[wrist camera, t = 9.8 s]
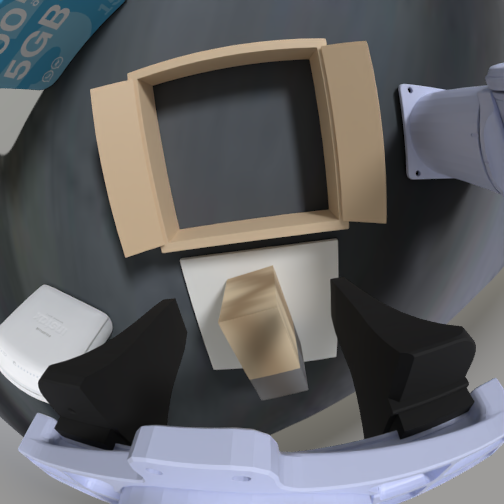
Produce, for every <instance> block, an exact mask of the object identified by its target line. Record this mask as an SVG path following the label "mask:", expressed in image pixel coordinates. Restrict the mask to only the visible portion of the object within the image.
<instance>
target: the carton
mask: <svg viewBox="0 0 504 504" xmlns="http://www.w3.org/2000/svg"><path fill="white" fill-rule="evenodd" d="M301 59H309V60H310V66H311V71H312V76H313V82H314V88H315V94H316V100H317V106H318V113H319V120H320V127H321V134H322V142H323V151H324V160H325V169H326V180H327V191H328V204H329V209H327V210H319V211H310V212H302V213H293V214H285V215H277V216H270V217H262V218H255V219H247V220H240V221H233V222H226V223H219V224H213V225H206V226H199V227H193V228H187V229H180V230H179V225H178V221H177V217H176V212H175V208H174V203H173V199H172V194H171V189H170V185H169V180H168V175H167V170H166V164H165V159H164V154H163V148H162V143H161V137H160V131H159V125H158V119H157V113H156V106H155V99H154V92H153V86H154V85H157V84H160V83H164V82H167V81H171V80H174V79H178V78H182V77H186V76H190V75H194V74H199V73H203V72H208V71H213V70H218V69H223V68H229V67H235V66H241V65H248V64H256V63H264V62H274V61H285V60H301ZM127 75H128V80H127V81H123V82H118V83H114V84H110V85H106V86H102V87H98V88H94V89H90V91H91V101H92V110H93V117H94V125H95V131H96V138H97V144H98V150H99V155H100V160H101V165H102V170H103V175H104V180H105V184H106V189H107V193H108V197H109V201H110V205H111V209H112V213H113V217H114V220H115V224H116V228H117V231H118V235H119V238H120V241H121V245H122V248H123V251H124V254H125V258H126V257H129V256H132V255H135V254H138V253H141V252H144V251H147V250H150V249H153V248H156V247H159V246H160V247H161V250H162V253H167V252H174V251H181V250H189V249H196V248H203V247H210V246H218V245H225V244H233V243H240V242H248V241H255V240H263V239H271V238H278V237H286V236H294V235H302V234H310V233H318V232H326V231H334V230H342V229H349V221H353V222H369V223H385V224H386V222H387V193H386V169H385V154H384V142H383V132H382V123H381V115H380V107H379V101H378V94H377V88H376V82H375V77H374V72H373V67H372V62H371V57H370V53H369V48H368V44H367V42H366V41H358V42H348V43H340V44H332V45H327V43H326V39H288V40H274V41H264V42H255V43H247V44H240V45H234V46H228V47H222V48H217V49H212V50H207V51H202V52H198V53H193V54H189V55H185V56H181V57H178V58H174V59H170V60H167V61H164V62H160V63H157V64H154V65H151V66H148V67H145V68H142V69H139V70H136V71H133V72H131V73H128V74H127Z"/></svg>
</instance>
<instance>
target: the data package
mask: <svg viewBox="0 0 504 504" xmlns="http://www.w3.org/2000/svg"><path fill="white" fill-rule="evenodd" d="M124 1H125V0H0V88H12V89H31V90H43V89H46V88H48V87H50V86H51V85H52V84H53V83H55V82H56V80H57V79H58V78H59V77H60V75H61V74H62V72H63V71H64V70H65V68H66V67H67V65H68V64H69V63H70V61H71V60H72V59H73V58H74V56H75V55H76V54H77V52H78V51H79V50H80V49H81V48H82V46H83V45H84V44H85V43H86V42H87V40H88V39H89V38H90V37H91V36H92V35H93V33H94V32H95V31H96V30H97V29H98V28H99V27H100V26H101V25H102V24H103V23H104V22H105V20H106V19H107V18H108V17H109V16H110V15H111V14H112V13H113V12H114V11H115V10H116V9H117V8H119V7H120V6H121V5H122V4H123V3H124Z"/></svg>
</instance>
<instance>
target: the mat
mask: <svg viewBox="0 0 504 504" xmlns="http://www.w3.org/2000/svg"><path fill="white" fill-rule="evenodd" d="M180 263H181V267H182V271H183V274H184V278H185V281H186V285H187V288H188V292H189V295H190V298H191V302H192V305H193V308H194V312H195V315H196V318H197V321H198V325H199V328H200V331H201V334H202V337H203V340H204V343H205V346H206V349H207V352H208V355H209V358H210V361H211V363H212V366H213V369H214V370H221V369H238V368H243V367H242V366H241V364H240V362H239V360H238V359H237V357H236V355H235V353H234V351H233V350H232V348H231V346H230V344H229V342H228V341H227V339H226V337H225V335H224V333H223V331H222V330H221V328H220V326H219V324H218V321H219V316H220V311H221V306H222V301H223V297H224V292H225V287H226V282H227V279H230V278H233V277H237V276H240V275H243V274H246V273H250V272H253V271H256V270H259V269H262V268H266V267H269V266H272V265H273V267H274V270H275V272H276V275H277V278H278V281H279V284H280V286H281V289H282V292H283V295H284V297H285V300H286V303H287V306H288V309H289V312H290V314H291V317H292V320H293V323H294V326H295V328H296V331H297V334H298V337H299V340H300V343H301V348H302V354H303V359H304V362H306V361H313V360H319V359H325V358H331V357H336V353H337V336H336V333H335V330H334V326H333V322H332V318H331V290H330V279H333V278H338V240H337V238H335V239H327V240H319V241H311V242H303V243H296V244H288V245H280V246H272V247H264V248H257V249H249V250H241V251H234V252H226V253H218V254H210V255H203V256H195V257H188V258H181V259H180Z"/></svg>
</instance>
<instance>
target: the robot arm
mask: <svg viewBox="0 0 504 504" xmlns="http://www.w3.org/2000/svg"><path fill="white" fill-rule="evenodd" d="M485 81H486V83H487V85H486V86H475V87H466V88H458V89H451V90H443V89H437V88H431V87H425V86H417V85H409V84H401V85H399V87H398V91H399V98H400V105H401V112H402V120H403V129H404V140H405V153H406V173H407V176H408V178H410V179H443V178H456V179H459V180H462V181H465V182H468V183H471V184H474V185H477V186H479V187H482V188H485V189H488V190H490V191H493V192H496V193H498V194H501V195H503V197H504V62H503V63H500V64H496V65H494V66H491V67H490V68H489V71H488V75H487V76H486V77H485ZM408 88H409V89H410V91H411V92H410V93H409V92H408ZM416 171H418V175H417V176H416ZM330 290H331V318H332V322H333V326H334V330H335V333H336V336H337V338H338V341H339V343H340V346H341V348H342V351H343V353H344V356H345V359H346V361H347V364H348V366H349V369H350V372H351V375H352V378H353V382H354V386H355V391H356V395H357V399H358V404H359V409H360V415H361V420H362V426H363V432H364V439H363V440H359V441H355V442H351V443H346V444H341V445H336V446H330V447H325V448H319V449H312V450H305V451H297V452H280V451H279V448H278V444H277V442H276V441H275V440H274V439H273V438H272V437H271V436H270V435H269V434H267V433H264V432H261V431H257V430H255V429H247V428H235V427H231V428H203V427H179V426H167V419H168V411H169V404H170V398H171V393H172V389H173V385H174V382H175V378H176V375H177V372H178V369H179V366H180V363H181V359H182V356H183V353H184V349H185V344H186V337H187V330H186V328H185V325H184V322H183V319H182V316H181V314H180V311H179V308H178V305H177V302H176V299H165V300H162V301H161V302H159V303H158V304H157V305H155V306H154V307H153V308H152V309H150V310H149V311H148V312H147V313H146V314H144V315H143V316H142V317H141V318H140V319H138V320H137V321H136V322H135V323H133V324H132V325H131V326H129V327H128V328H127V329H125V330H124V331H123V332H121V333H120V334H119V335H117V336H116V337H114V338H113V339H111V340H109V341H108V342H106V343H104V344H103V345H101V346H99V347H97V348H95V349H93V350H91V351H89V352H87V353H85V354H82V355H80V356H77V357H75V358H72V359H69V360H66V361H63V362H59V363H56V364H52V365H49V366H48V368H47V369H46V370H45V372H44V373H43V375H42V376H41V378H40V379H39V381H38V387H39V390H40V392H41V394H42V395H43V397H44V398H45V399H46V401H47V402H48V403H49V404H50V405H51V406H52V408H53V409H54V410H55V411H56V412H57V413H58V414H59V415H60V418H59V420H58V421H57V420H55V419H54V418H52V417H50V416H47V415H44V414H41V413H37V414H36V416H35V418H34V420H33V421H32V423H31V425H30V427H29V429H28V430H27V432H26V434H25V436H24V438H23V440H22V442H21V444H20V445H19V448H18V450H19V452H21V453H22V454H23V455H24V456H26V457H27V458H28V459H29V460H30V461H31V462H32V463H34V464H35V465H36V466H38V467H39V468H40V469H41V470H43V471H44V472H45V473H47V474H48V475H50V476H51V477H53V478H54V479H56V480H58V481H60V482H62V483H64V484H66V485H68V486H71V487H73V488H75V489H77V490H79V491H81V492H84V493H86V494H88V495H90V496H93V497H95V498H97V499H100V500H102V501H105V502H107V503H110V504H398V503H401V502H404V501H406V500H409V499H411V498H413V497H416V496H418V495H420V494H422V493H425V492H427V491H429V490H431V489H433V488H435V487H437V486H439V485H441V484H443V483H445V482H447V481H448V480H450V479H452V478H454V477H456V476H458V475H459V474H461V473H463V472H465V471H467V470H468V469H470V468H472V467H473V466H475V465H476V464H478V463H480V462H481V461H483V460H485V459H486V458H488V457H489V456H491V455H492V454H493V453H494V452H495V451H496V450H497V449H498V448H499V447H500V446H501V445H502V444H503V443H504V389H503V387H502V386H501V384H500V383H499V381H498V380H497V378H494V379H492V380H490V381H488V382H486V383H484V384H482V385H480V386H478V387H477V388H475V389H474V390H473V391H472V392H471V393H469V392H468V390H467V388H466V387H467V386H468V385H469V382H468V380H467V379H466V377H465V376H466V374H467V371H468V369H469V367H470V365H471V363H472V361H473V358H474V355H475V352H476V345H475V342H474V340H473V339H472V338H471V337H470V335H469V334H468V333H467V332H466V331H465V329H464V328H463V327H462V326H453V325H446V324H440V323H435V322H431V321H427V320H423V319H419V318H416V317H414V316H411V315H408V314H405V313H403V312H400V311H398V310H396V309H394V308H391V307H389V306H387V305H386V304H384V303H382V302H380V301H379V300H377V299H375V298H373V297H372V296H370V295H369V294H367V293H366V292H364V291H363V290H361V289H360V288H358V287H357V286H356V285H354V284H353V283H351V282H350V281H349V280H347V279H346V278H344V277H339V278H333V279H330Z"/></svg>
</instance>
